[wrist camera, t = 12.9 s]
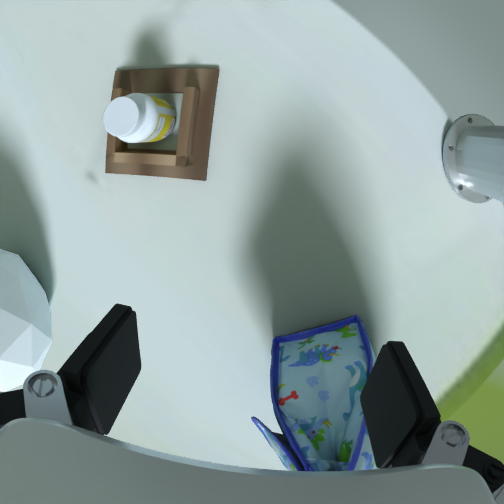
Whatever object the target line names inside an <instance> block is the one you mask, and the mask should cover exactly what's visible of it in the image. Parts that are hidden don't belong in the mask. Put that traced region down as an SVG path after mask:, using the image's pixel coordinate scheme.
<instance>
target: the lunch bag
mask: <svg viewBox="0 0 504 504" xmlns="http://www.w3.org/2000/svg"><path fill="white" fill-rule="evenodd" d="M271 356H272V359H271V368H270V387H271V398H272V403H273V409H274V413H275V416H276V419H277V421H278V424H279V426H280V428H281V430H282V433H283V434H279V433H275V432H272V431H271V430H270V429H269V428H268V427H266V426H265V425H264V424H263V423H262V422H261V421H260V420H259V419H257V418H256V417H251V419H252V421H253V422H254V423H255V425H256V426H257V427H258V428H259V430H260V431H261V432H262V434H263V435H264V436H265V438H266V440H267V441H268V443H269V444H270V446H271V447H272V448H273V449H274V451H275V452H276V453H277V455H278V456H279V458H280V459H281V461H282V463H283V465H284V466H285V467H286V469H287V470H288V471H312V472H328V471H356V470H370V469H380V468H377V467H376V465H375V460H374V456H373V451H372V447H371V443H370V439H369V435H368V430H367V426H366V422H365V418H364V415H363V411H362V407H361V403H360V395H361V392H362V390H363V388H364V386H365V384H366V382H367V379H368V377H369V375H370V373H371V371H372V369H373V366H374V364H375V362H376V357H375V354H374V351H373V348H372V345H371V343H370V340H369V337H368V334H367V332H366V329H365V327H364V325H363V323H362V320H361V319H360V318H359V317H358V316H357V315H355V316H352V317H349V318H347V319H343V320H341V321H338V322H335V323H332V324H328V325H325V326H321V327H318V328H313V329H310V330H306V331H302V332H298V333H294V334H290V335H286V336H279V337H275V338H274V339H273V343H272V349H271Z"/></svg>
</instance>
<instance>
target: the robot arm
mask: <svg viewBox="0 0 504 504" xmlns="http://www.w3.org/2000/svg"><path fill="white" fill-rule="evenodd" d="M443 164H444V169H445V173H446V176H447V178H448V181H449V183H450V185H451V186H452V188H453V189H454V191H455V192H456V193H457V194H458V195H459V196H461V197H462V198H463V199H465V200H468V201H470V202H473V203H484V202H487V201H489V200H491V199H492V198H493V199H496V200H499V201H501V202H504V126H495V125H494V124H493V123H492V122H491V121H490V120H488V119H487V118H485V117H484V116H481V115H476V114H469V115H464V116H461V117H460V118H458V119H457V120H455V121H454V123H453V124H452V125H451V126H450V128H449V130H448V131H447V134H446V137H445V140H444V146H443ZM140 370H141V358H140V350H139V341H138V331H137V319H136V312H135V311H132V308H131V307H130V306H126V305H122V304H115V305H114V307H113V308H112V309H111V310H110V311H109V312H108V313H107V315H106V316H105V317H104V318H103V319H102V320H101V322H100V323H99V324H98V325H97V326H96V327H95V329H94V330H93V331H92V332H91V333H89V334H88V335H87V337H86V338H85V339H84V340H83V341H82V343H81V344H80V345H79V346H78V347H77V349H76V350H75V351H74V352H73V353H72V355H71V356H70V357H69V358H68V360H67V361H66V362H65V363H64V365H63V366H62V367H61V368H60V370H59V371H58V372H57V373H55V372H53V371H49V370H39V371H35V372H33V373H32V374H30V375H29V376H28V377H27V378H26V379H25V381H24V385H23V389H20V390H15V391H10V392H6V393H1V394H0V504H504V465H503V464H502V462H500V461H499V460H497V459H495V458H493V457H491V456H489V455H488V454H486V453H484V452H482V451H480V450H478V449H476V448H474V447H472V446H470V445H469V440H470V437H469V433H468V431H467V430H466V428H464V426H463V425H461V424H460V423H458V422H456V421H449V420H448V421H444V422H441V420H440V417H441V415H440V413H439V411H438V409H437V407H436V405H435V403H434V401H433V399H432V397H431V395H430V392H429V390H428V388H427V386H426V384H425V382H424V380H423V378H422V377H421V375H420V373H419V371H418V369H417V367H416V365H415V363H414V361H413V359H412V357H411V355H410V354H409V352H408V350H407V348H406V346H405V344H404V343H403V342H400V341H388V342H387V344H385V345H383V346H382V348H381V350H380V353H379V355H378V357H377V360H376V362H375V364H374V366H373V369H372V371H371V373H370V375H369V377H368V379H367V382H366V384H365V386H364V388H363V390H362V392H361V395H360V403H361V407H362V411H363V415H364V418H365V422H366V426H367V430H368V435H369V439H370V443H371V447H372V451H373V456H374V460H375V465H376V467H377V468H380V469H370V470H356V471H328V472H312V471H283V470H268V469H257V468H247V467H239V466H231V465H224V464H218V463H211V462H206V461H200V460H195V459H190V458H185V457H180V456H176V455H171V454H167V453H163V452H159V451H155V450H151V449H147V448H144V447H140V446H137V445H133V444H130V443H126V442H123V441H120V440H117V439H113V438H110V437H107V436H104V434H105V435H107V434H108V433H109V432H110V430H111V428H112V426H113V424H114V422H115V420H116V418H117V416H118V414H119V412H120V410H121V408H122V406H123V404H124V402H125V400H126V398H127V396H128V394H129V392H130V390H131V388H132V387H133V385H134V383H135V381H136V379H137V377H138V375H139V373H140Z"/></svg>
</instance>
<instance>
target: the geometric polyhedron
mask: <svg viewBox="0 0 504 504" xmlns="http://www.w3.org/2000/svg"><path fill="white" fill-rule="evenodd" d="M51 342H52V324H51V310H50V307H49V303H48V300H47V296H46V293H45V291H44V290H43V288H42V286H41V285H40V283H39V282H38V280H37V278H36V277H35V276H34V274H33V273H32V272H31V271H30V269H29V268H28V267H27V265H26V264H25V263H24V261H23V260H22V259H21V257H20V256H19V255H18V254H15V253H12V252H9V251H5V250H2V249H0V392H2V391H3V392H6V391H8V390H10V389H13V388H15V387H17V386H19V385H21V384H24V381H25V379H26V378H27V377H28V376H29V375H30V374H32V373H33V372H35V371H39V370H40V368H41V365H42V363H43V360H44V358H45V356H46V354H47V351H48V349H49V347H50V344H51Z"/></svg>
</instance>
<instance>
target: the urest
mask: <svg viewBox="0 0 504 504" xmlns="http://www.w3.org/2000/svg"><path fill="white" fill-rule="evenodd" d="M218 77H219V69H208V68H158V69H138V70H124V71H115V76H114V83H113V90H112V97H111V101H112V100H114V99H115V98H118V97H122V96H126V95H129V94H132V93H143V94H146V95H150V96H153V97H156V98H160V99H163V100H165V101H167V102H169V103H170V104H171V105H172V106H173V107H174V109H175V111H176V114H177V123H176V127H175V129H174V131H173V132H172V133H171V134H170V135H169V136H168V137H167V138H165V139H163V140H161V141H156V142H141V143H128V142H124V141H122V140H120V139H119V138H118V137H116V136H113V135H111V134H110V133H108V136H107V150H106V169H105V173H115V174H131V175H146V176H159V177H171V178H182V179H192V180H202V181H206V177H207V167H208V157H209V148H210V139H211V131H212V122H213V114H214V106H215V98H216V91H217V84H218Z"/></svg>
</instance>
